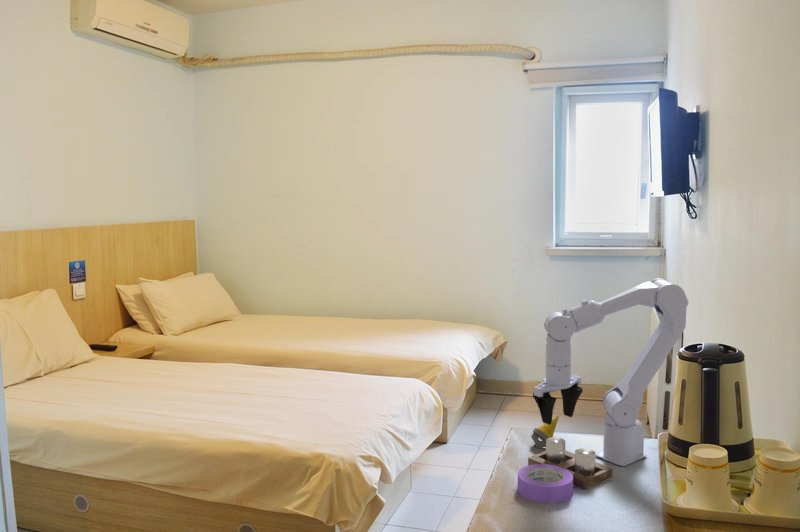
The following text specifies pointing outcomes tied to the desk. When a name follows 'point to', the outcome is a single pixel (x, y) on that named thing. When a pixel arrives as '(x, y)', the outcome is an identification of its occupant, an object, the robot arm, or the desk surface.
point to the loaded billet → (555, 450)
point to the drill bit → (544, 433)
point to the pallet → (569, 464)
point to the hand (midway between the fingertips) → (557, 419)
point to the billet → (585, 461)
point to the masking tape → (545, 483)
